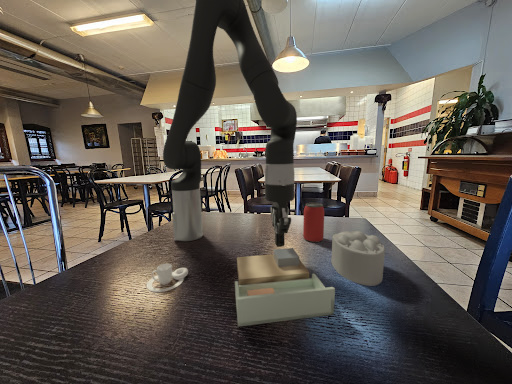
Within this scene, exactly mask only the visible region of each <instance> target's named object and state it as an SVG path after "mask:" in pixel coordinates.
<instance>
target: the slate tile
mask: <svg viewBox="0 0 512 384" xmlns="http://www.w3.org/2000/svg"><path fill="white" fill-rule="evenodd" d="M272 253H273V257H274V260H275V262H276V264H277V266H278V267H285V266H296V265H299V259H300V256H299V254H298V253H297V252H296V250H295V248H293V247H289V248H288V247H287V248H276V249H273V251H272Z"/></svg>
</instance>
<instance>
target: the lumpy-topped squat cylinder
mask: <svg viewBox="0 0 512 384" xmlns="http://www.w3.org/2000/svg"><path fill="white" fill-rule="evenodd" d="M331 242H332V243H331V244H332V245H331V261H330V262H331V264H332V266H333V268H334V270H335V271H336V273H338V275H340V276H342V277H343V278H345V279H347V280H348V281H351V282H353V283H356V284H359V285H362V286H367V287H373V286H378V285H379V284H381V283H382V282H383V278H384V277H383V276H384V266H385V265H384V264H385V254H386V248H385V244H383V243H381V239H380V238H379V237H378V236H377V235H375V234H374V235H373V234H371V235H369V234H365V232H364V233H363V232H362V231H360V230H357V231H341V232H339V233H338V232H337V233H335V234H333V235H332V239H331Z"/></svg>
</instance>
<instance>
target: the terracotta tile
mask: <svg viewBox="0 0 512 384" xmlns="http://www.w3.org/2000/svg"><path fill="white" fill-rule="evenodd" d="M271 293H275V292H274V290H273V288H265V289H257V290H248V291H247V296H253V295H262V294H271Z"/></svg>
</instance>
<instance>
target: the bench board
mask: <svg viewBox="0 0 512 384" xmlns="http://www.w3.org/2000/svg"><path fill="white" fill-rule="evenodd" d="M236 270H237V277H238V278H237V279H238V286H239V285H249V284H259V283H269V282H279V281H288V280H298V279H308V278H310V272H309V270H308V268H307V267H306V266H305V265H304V263H303V262H302V261H301V259H300V258H299V265H296V266H285V267H278V266H277V264H276V262H275V260H274V257H273V254H263V255H252V256H251V255H250V256H249V255H247V256H238V257H236Z"/></svg>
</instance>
